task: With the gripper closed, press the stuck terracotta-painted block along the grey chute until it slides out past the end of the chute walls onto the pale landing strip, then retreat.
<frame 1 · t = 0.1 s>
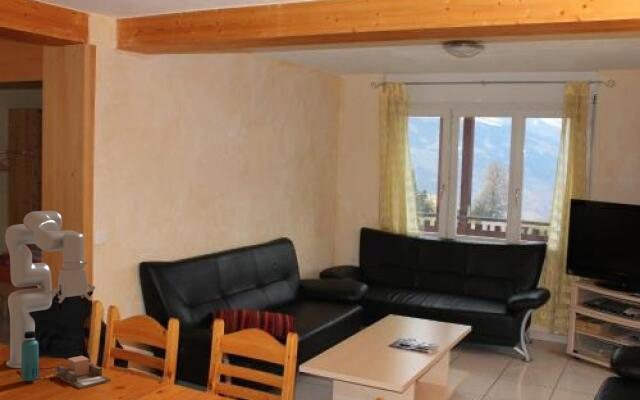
hand: (72, 310, 251), 31 cm above the table, fingers open, 9 cm apart
chute: (83, 378, 268), on the table
beverage bottle: (29, 382, 263), on the table
block: (78, 366, 271), point 4 cm above the table, slide at -4.0 cm
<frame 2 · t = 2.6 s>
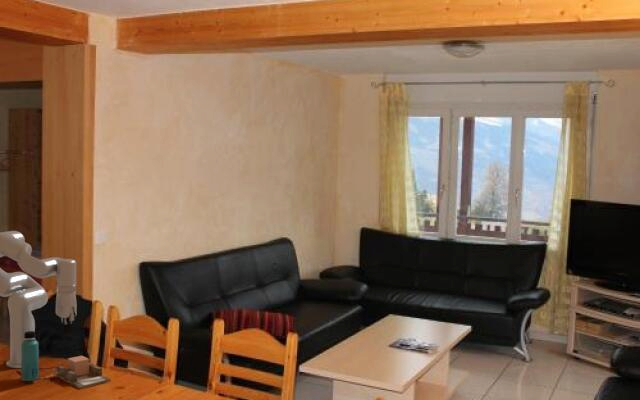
hand: (66, 332, 277), 16 cm above the table, fingers closed
nothing on the table moved.
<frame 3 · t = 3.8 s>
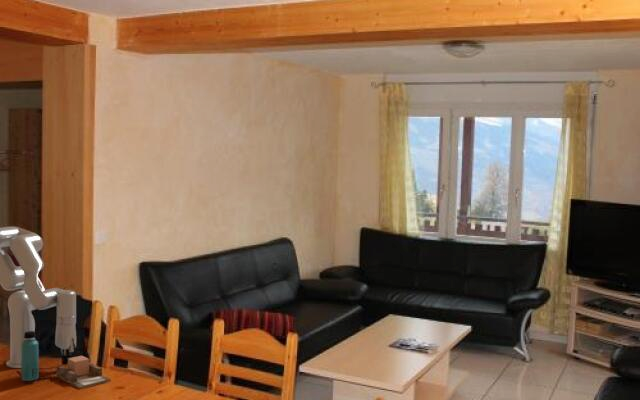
hand: (66, 363, 278), 3 cm above the table, fingers closed
nothing on the table moved.
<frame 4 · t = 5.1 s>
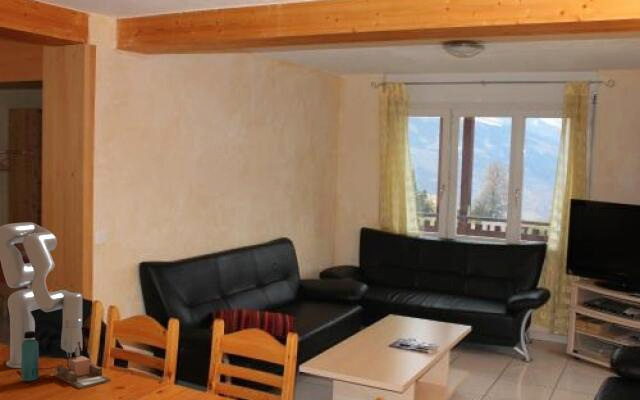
hand: (72, 367, 274), 2 cm above the table, fingers closed
block: (78, 366, 270), point 4 cm above the table, slide at -3.6 cm, touching gripper
everything else where it was.
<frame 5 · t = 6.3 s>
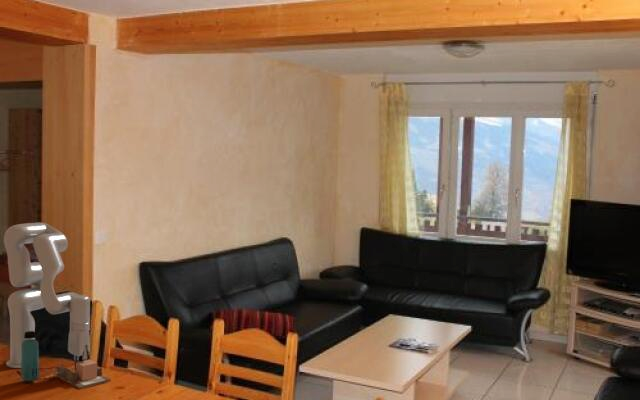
hand: (79, 370, 270), 2 cm above the table, fingers closed
block: (86, 370, 266), point 4 cm above the table, slide at 2.7 cm, touching gripper
everything else where it was.
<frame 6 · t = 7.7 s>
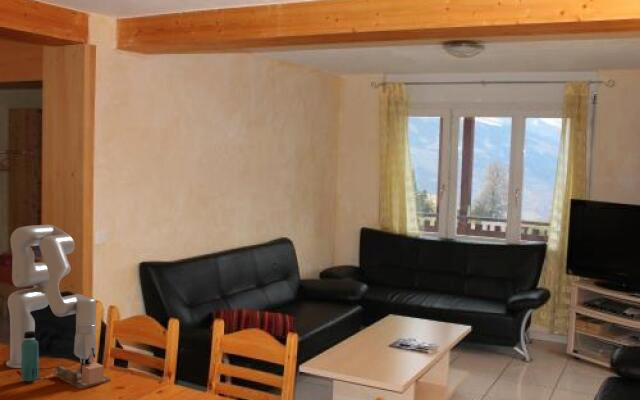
hand: (85, 374, 267), 2 cm above the table, fingers closed
block: (92, 373, 262), point 4 cm above the table, slide at 7.9 cm, touching gripper
everything else where it was.
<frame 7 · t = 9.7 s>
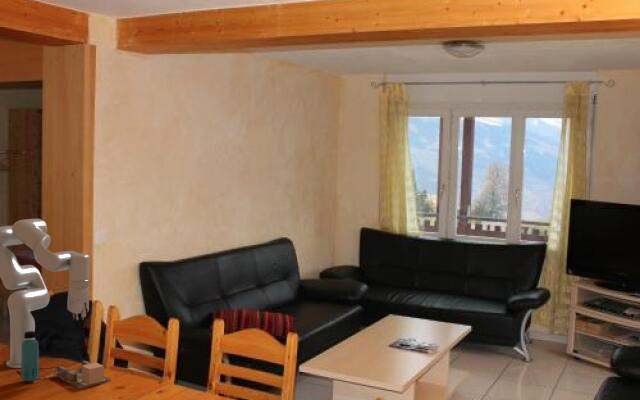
hand: (78, 328, 270), 19 cm above the table, fingers closed
block: (92, 373, 262), point 4 cm above the table, slide at 7.9 cm
everything else where it was.
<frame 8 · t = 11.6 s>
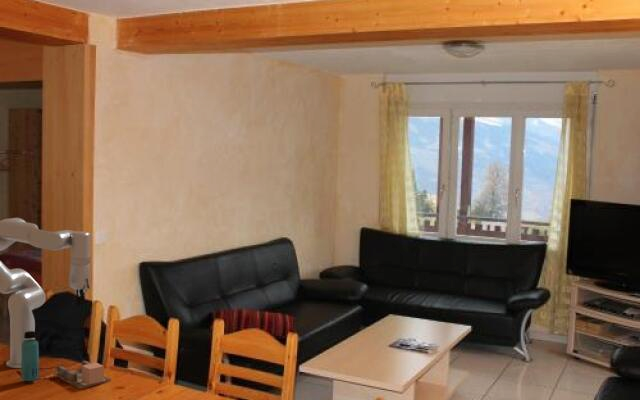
hand: (80, 304, 279), 27 cm above the table, fingers closed
nothing on the table moved.
at the end: block slide at 7.9 cm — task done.
